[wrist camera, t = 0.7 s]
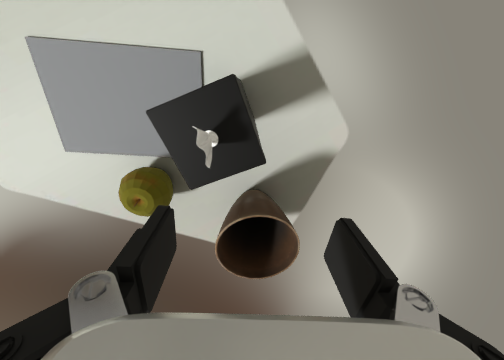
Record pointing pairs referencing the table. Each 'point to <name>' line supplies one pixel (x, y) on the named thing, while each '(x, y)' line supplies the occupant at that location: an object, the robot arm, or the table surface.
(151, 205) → the apple
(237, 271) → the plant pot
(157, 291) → the robot arm
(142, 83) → the mat
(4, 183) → the table surface
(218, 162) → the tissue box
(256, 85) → the table surface
